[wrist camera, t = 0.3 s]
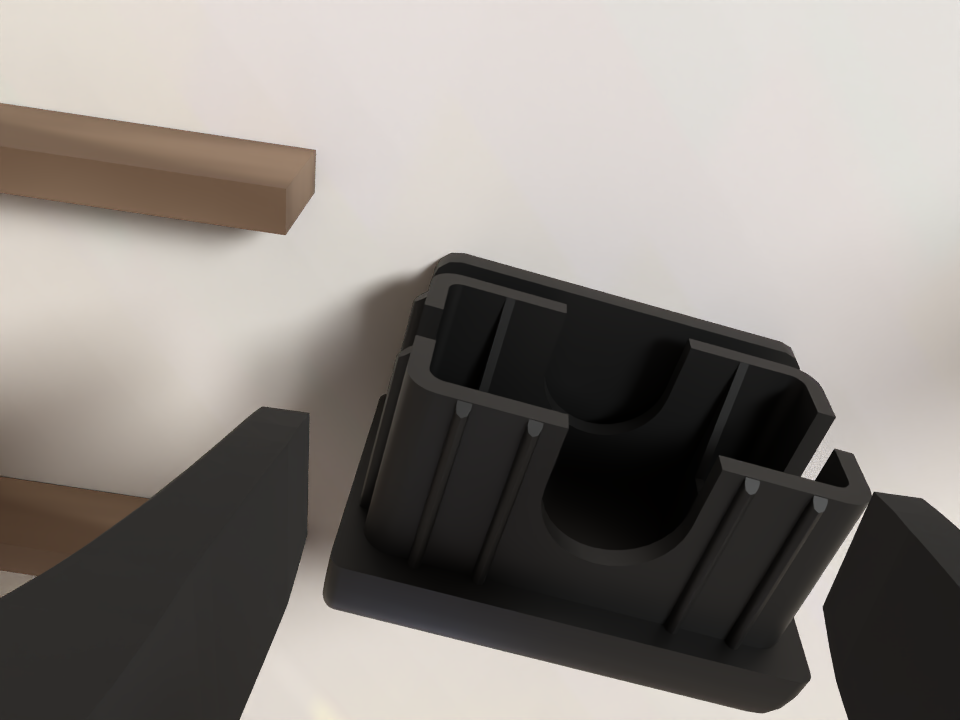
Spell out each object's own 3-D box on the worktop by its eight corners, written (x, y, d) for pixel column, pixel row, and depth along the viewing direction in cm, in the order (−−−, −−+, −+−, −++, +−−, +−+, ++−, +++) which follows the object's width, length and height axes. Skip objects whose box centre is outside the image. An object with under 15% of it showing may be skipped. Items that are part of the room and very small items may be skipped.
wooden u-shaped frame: (303, 547, 26) (280, 612, 24) (-136, 482, 26) (-198, 540, 24) (315, 149, 20) (285, 188, 18) (-262, 64, 20) (-362, 92, 18)
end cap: (363, 467, 24) (302, 666, 19) (421, 238, 21) (368, 397, 15) (706, 556, 25) (750, 774, 19) (820, 350, 21) (917, 543, 16)
